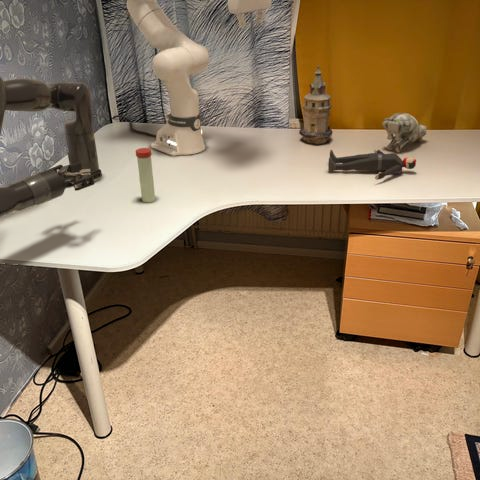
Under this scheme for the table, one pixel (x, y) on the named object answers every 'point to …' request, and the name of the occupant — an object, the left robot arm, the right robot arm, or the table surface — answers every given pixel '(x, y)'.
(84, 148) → the left robot arm
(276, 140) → the table surface
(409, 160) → the toy
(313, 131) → the miniature building
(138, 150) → the lid
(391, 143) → the figurine
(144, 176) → the olive green cylinder
